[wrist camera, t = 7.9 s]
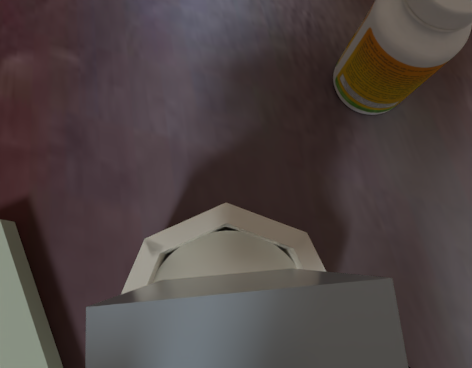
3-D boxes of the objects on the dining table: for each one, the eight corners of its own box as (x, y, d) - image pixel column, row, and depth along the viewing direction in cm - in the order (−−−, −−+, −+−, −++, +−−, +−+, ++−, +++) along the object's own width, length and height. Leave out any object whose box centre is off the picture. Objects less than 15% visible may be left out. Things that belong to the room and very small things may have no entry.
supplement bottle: (401, 122, 24) (519, 35, 15) (328, 111, 24) (401, 16, 15) (402, 56, 26) (512, -62, 16) (333, 46, 26) (403, -80, 16)
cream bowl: (345, 353, 21) (380, 379, 16) (179, 445, 19) (168, 500, 15) (267, 193, 23) (280, 177, 18) (110, 264, 21) (83, 265, 17)
